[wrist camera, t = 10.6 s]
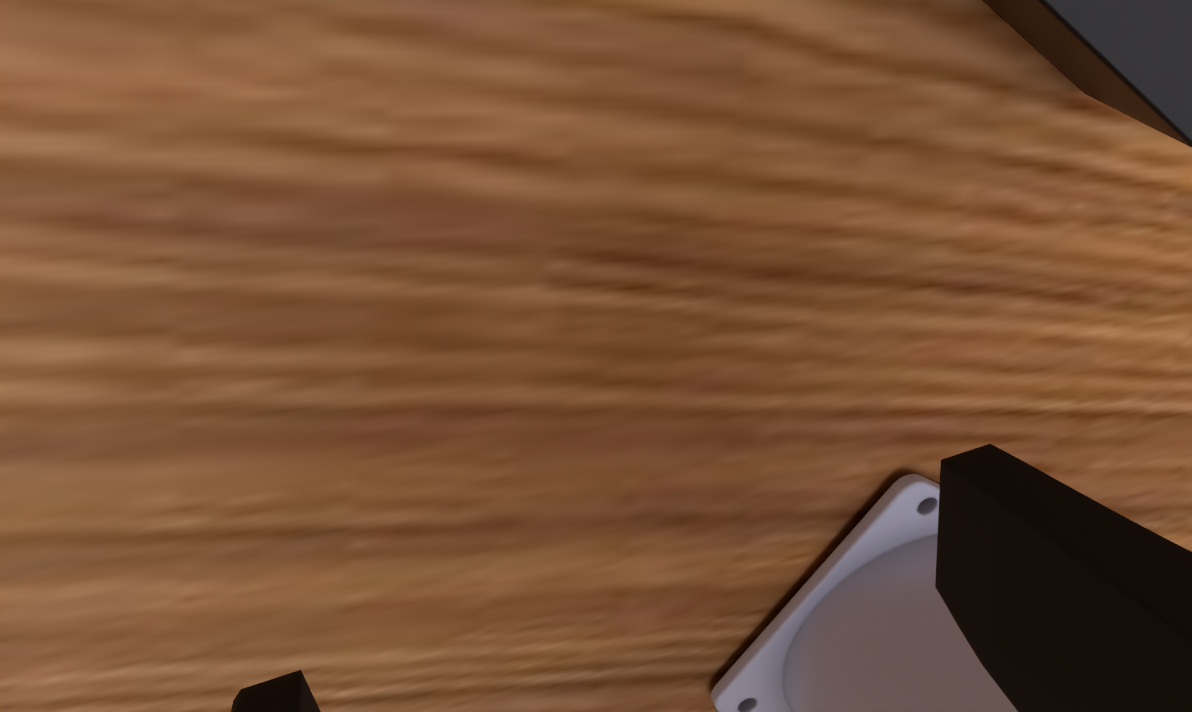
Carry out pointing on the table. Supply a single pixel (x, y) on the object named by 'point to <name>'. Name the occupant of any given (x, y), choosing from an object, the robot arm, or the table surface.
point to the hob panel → (1117, 53)
